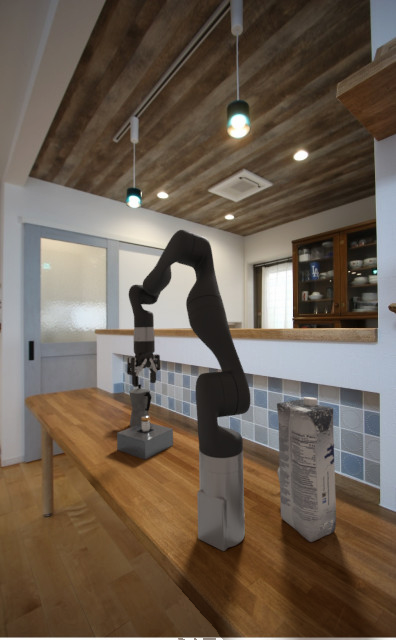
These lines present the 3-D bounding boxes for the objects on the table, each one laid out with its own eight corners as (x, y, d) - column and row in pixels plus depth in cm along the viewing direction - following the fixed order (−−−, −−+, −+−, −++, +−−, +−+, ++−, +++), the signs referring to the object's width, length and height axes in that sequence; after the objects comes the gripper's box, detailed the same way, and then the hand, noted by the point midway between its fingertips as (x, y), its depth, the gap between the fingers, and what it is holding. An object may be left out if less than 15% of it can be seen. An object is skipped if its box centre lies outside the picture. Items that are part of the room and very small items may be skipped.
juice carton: (311, 549, 56) (307, 407, 56) (274, 517, 65) (271, 396, 66) (343, 534, 60) (339, 401, 60) (304, 506, 69) (301, 391, 70)
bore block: (145, 459, 95) (145, 441, 95) (117, 449, 103) (117, 432, 103) (173, 445, 106) (172, 428, 107) (145, 437, 114) (145, 422, 115)
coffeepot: (123, 424, 131) (122, 383, 132) (141, 419, 138) (140, 381, 138) (141, 432, 120) (140, 388, 120) (160, 427, 126) (159, 385, 127)
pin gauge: (145, 446, 103) (145, 418, 103) (140, 445, 104) (139, 417, 105) (151, 444, 105) (151, 416, 105) (145, 442, 107) (145, 414, 107)
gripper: (136, 340, 98) (137, 389, 97) (164, 339, 109) (165, 382, 109) (121, 340, 102) (122, 387, 102) (150, 339, 114) (151, 380, 113)
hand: (144, 384), depth 105 cm, fingers open, 8 cm apart
